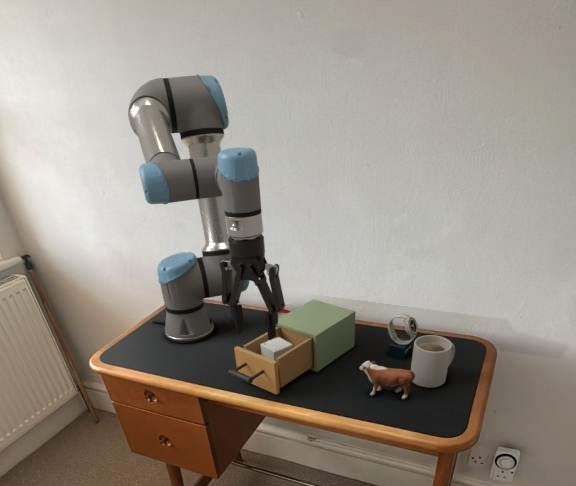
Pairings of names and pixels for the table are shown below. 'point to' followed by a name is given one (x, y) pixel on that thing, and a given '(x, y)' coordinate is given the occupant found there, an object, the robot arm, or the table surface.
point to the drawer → (270, 371)
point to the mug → (431, 360)
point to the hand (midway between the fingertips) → (256, 334)
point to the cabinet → (323, 329)
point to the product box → (275, 348)
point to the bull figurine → (388, 377)
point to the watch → (402, 345)
